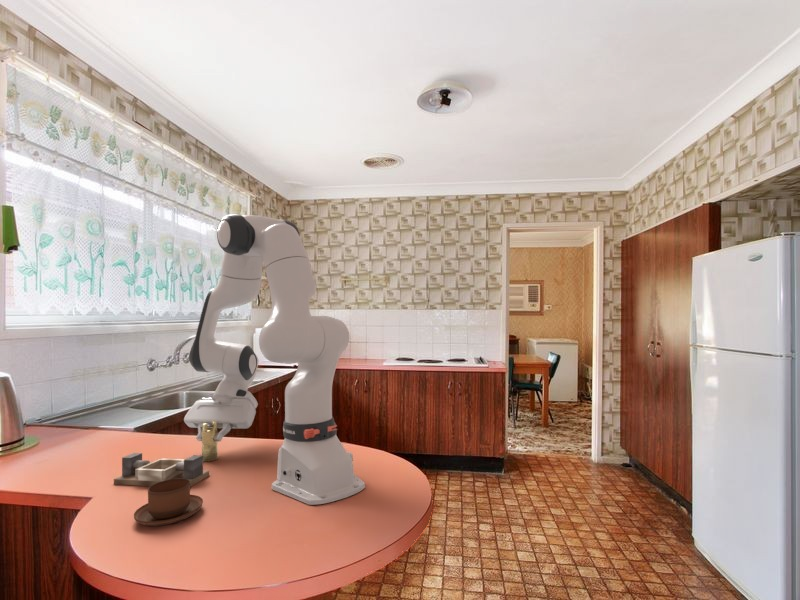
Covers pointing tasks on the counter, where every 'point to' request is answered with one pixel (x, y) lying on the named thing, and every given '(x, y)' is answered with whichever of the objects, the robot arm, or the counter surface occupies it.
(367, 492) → the counter surface
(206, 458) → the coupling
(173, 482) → the cup and saucer
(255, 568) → the counter surface
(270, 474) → the counter surface
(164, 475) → the shaft stand
